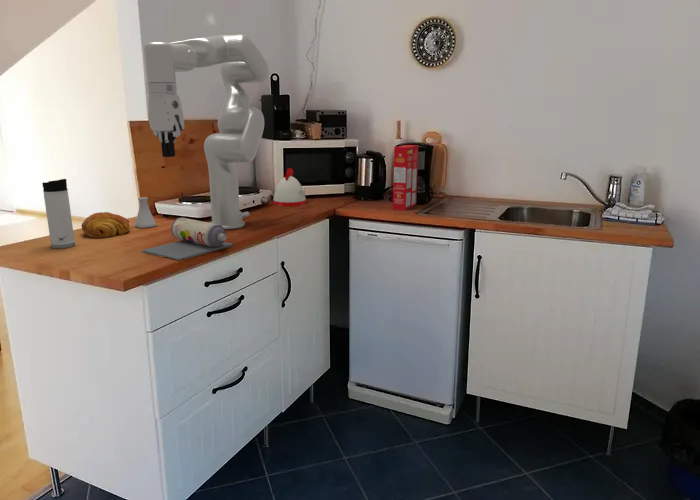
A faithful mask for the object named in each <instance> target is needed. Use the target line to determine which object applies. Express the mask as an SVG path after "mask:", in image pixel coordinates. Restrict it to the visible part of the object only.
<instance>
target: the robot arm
mask: <svg viewBox="0 0 700 500" xmlns="http://www.w3.org/2000/svg"><path fill="white" fill-rule="evenodd" d="M143 46H144V47H143V52H144V61H145V72H146V81H147V90H148V100H147V101H148V105H147V107H148V110H147V111H148V121H149V127H150V130H151V131H153V135H154V136H155V137H157V138H158V140H159V143H160V144H161V153H162V154H161V155H162V157H163V158H172V157H176V150H175V149H176V148H175V143H176V139H177V137H180V136H181V135H182V133H181V132H183V131H184V130H185V118H184V112H183V106H182V102H181V99H180V96H179V94H178V91H177V90H178V89H177V78H176V77H177V76H176V73H181V72H182V73H183V72H184V73H185V72H186V73H187V72H190V71H193V70H194V69H198V68H208V67H209V68H210V67H212V66H216V65H220V75H221V79H222V82H223V86H224V89H225V98H224V101H223V104H222V107H221V110H220V113H219V115H218V119H217V128H218V131H219V132H217V133H212V134H209V135H208V136H207V137H206V138H205V140H204V143H203V149H204V154H205V155H204V156H205V157H206V158H205V159H206V162H207V168H208V177H209V179H208V180H209V181H208V182H209V193H210V194H209V195H210V209H211V210H210V211H211V221H209V222H208V223H213V224H218V225H220V226H222V227H223V228H224V229H225V230H233V229H240V228H243V227H244V226H246V222H245V221H244V220H243V219H245V218H248V217H250V212H249V211H243V212H242V211H241V210H240V196H239V195H240V193H239V176H238V172H237V169H236V167H234V165H233V163H236V164H237V163H239V164H247V163H250V162H252V161H254V159H255V157H256V155H257V154H258V153H257V152H258V149H259V145H260V143H261V141H262V136H263V134H264V130H265V129H264V128H265V117H264V114H263V112H262V110H261V109H259V108H257V107H254V106H250V104H251V97H250V95H249V93H248V91H247V90H246V89H245V87H244V86H243V84H244V83H245V84H256V83H257V84H258V83H264V82H265V81H266V80H267V79H268V77H269V74H270V71H269V65H268V62H267V60H266V58H265V57H264V55H263V54H262V52H261V51H260V49H259V48H258V47H257V45H256V44H255V43H254V42H253V40H252V39H251V38H250V37H249V36H248V35H246V34H243V33H237V34H217V35H211V36H204V37H199V38H191V39H186V40H180V41H173V42H165V41H149V42H146V43H145V44H144V45H143Z"/></svg>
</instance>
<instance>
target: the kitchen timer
mask: <svg viewBox="0 0 700 500" xmlns="http://www.w3.org/2000/svg"><path fill="white" fill-rule="evenodd" d="M286 170H287V171H286V172H285V174H284V177H283V178H281V179H280V181H279V182H278V184H277V185H276V187H274V190H273V199H272V200H273V205H274V206H279V207H297V206H303V205H306V204H307V200H306V199H307V198H306V191H305V187H304V186H302V184H301V183H300V181H298V179H297V178H296V177H294V170H293V168H289V167H288V168H287V169H286Z"/></svg>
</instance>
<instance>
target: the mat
mask: <svg viewBox="0 0 700 500" xmlns="http://www.w3.org/2000/svg"><path fill="white" fill-rule="evenodd" d="M230 247H231V248H232V247H234V244H233V243H232V242H225V241H224V243H223V244H222V245H221V246H219V247H209V246H205V245H201V244H196V243H192V242H188V241H183V240H179V241H173V242H169V243H166V244H160V245H158V246H154V247H149V248H145V249H142V250H141V252H142V253H144V254H148V255H152V254H153V256H156V255H157V257H160V256H163V257H162V258H164V257H168V258H172V259H171V260H173V259H177V260H180V261H183V260H182V259H184V260H188V259H191V258H194V257H197V256H201V255H205V254H209V253H213V252H217V251H219V250H223V249H227V248H230ZM168 258H167V259H168ZM187 258H188V259H187ZM177 260H176V261H177Z"/></svg>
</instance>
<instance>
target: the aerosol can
mask: <svg viewBox="0 0 700 500" xmlns="http://www.w3.org/2000/svg"><path fill="white" fill-rule="evenodd" d="M171 224H172V225H170V226H171V227H170V233H171V234H172V236H173V238H175V239H177V240H179V241H181V240H183V241H188V242H192V243H196V244H201V245H205V246H209V247H219V246H221V245H222V244H223V243H224V242H225V241H226V240H227V234H226V229H224V228H223V227H222V226H220V225H218V224H213V223H209V222H208V221H202V220H197V219H193V218H192V219H191V218H186V217H177V218H176V219H174V220H173V222H172V223H171Z"/></svg>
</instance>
